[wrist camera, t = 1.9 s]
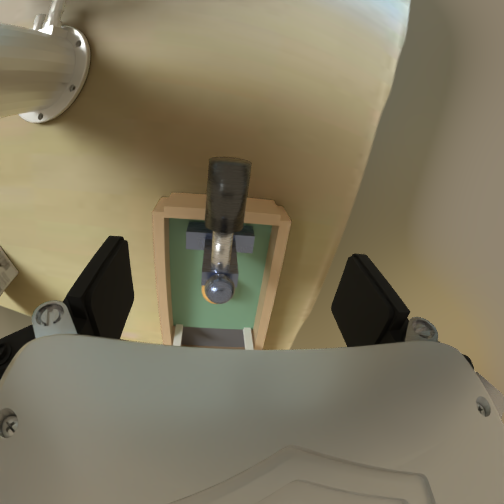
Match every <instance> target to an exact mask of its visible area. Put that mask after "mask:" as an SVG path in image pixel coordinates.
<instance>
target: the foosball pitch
mask: <svg viewBox="0 0 504 504" xmlns="http://www.w3.org/2000/svg"><path fill="white" fill-rule="evenodd" d="M205 208H206V194H191V193H173V192H172V193H171V195H170V196H169V197H161V199H160V200H159V202H158V203H157V205H156V206H155V208H154V210H153V211H152V220H153V246H154V263H155V277H156V289H157V299H158V308H159V317H160V325H161V333H162V340H163V345H174V346H186V347H200V348H216V349H242V350H263V346H264V341H265V337H266V333H267V329H268V325H269V321H270V317H271V313H272V308H273V304H274V300H275V295H276V291H277V287H278V282H279V278H280V273H281V269H282V264H283V260H284V255H285V250H286V246H287V241H288V236H289V232H290V227H291V222H292V221H291V220H290V218H289V216H288V214H287V213H286V211H285V209H284V207H283V206H277V205H276V204H275V202H274V200H267V199H256V198H247V201H246V209H245V217H244V225H247V226H253V230H254V235H255V239H254V246H253V253H239V252H237V262H238V272H239V276H238V284H237V288H235V293H234V295H233V297H232V299H231V300H230V301H228V302H227V303H224V304H212V303H209V302H208V301H207V300H205V298H204V297H203V295H202V291H201V288H202V286H201V278H202V264H203V255H204V250H192V249H186V231H187V227H188V223H189V221H190V222H205Z"/></svg>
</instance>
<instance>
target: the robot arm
mask: <svg viewBox="0 0 504 504" xmlns="http://www.w3.org/2000/svg"><path fill="white" fill-rule="evenodd" d="M65 4H66V0H54V1H52V3H51V6H50V9H49V13H48V19H47V22H46V23H44V20H45V16H46V15H45V14H39V15H37V16H36V17H35V21H34V26H33V29H29V28H25V27H20V26H15V25H10V24H4V23H0V118H3V117H7V116H12V115H17V114H18V115H19V116H20V117H21V118H22V119H24V120H25V121H27V122H31V123H42V122H47V121H49V120H52V119H54V118H56V117H57V116H59V115H61V114H62V113H63V112H64V111H65V110H66V109H68V107H69V106H70V105H71V104H72V103H73V102H74V100H75V99H76V97H77V96H78V94H79V93H80V91H81V89H82V87H83V85H84V83H85V80H86V77H87V74H88V70H89V66H90V46H89V44H88V41H87V38H86V37H85V36H84V34H83V33H82V32H81V31H79V30H78V29H76V28H73V27H70V26H66V25H65V26H62V21H60V19H61V15H62V13H63V11H64V7H65ZM43 23H44V24H43ZM42 25H43V27H42ZM75 87H76V88H75ZM133 301H134V290H133V283H132V275H131V267H130V259H129V249H128V242H127V240H124V238H123V237H121V236H109V237H108V238H107V239H106V241H105V242H104V243H103V245H102V246H101V247H100V248H99V250H98V251H97V252H96V254H95V255H94V256H93V258H92V259H91V261H90V262H89V263H88V265H87V266H86V267H85V269H84V270H83V272H82V273H81V275H80V276H79V277H78V279H77V280H76V282H75V283H74V285H73V286H72V288H71V289H70V291H69V292H68V294H67V295H66V298H65V299H64V301H63V302H61V301H57V300H56V301H48V302H45V303H43V304H41V305H40V306H38V307H37V308H36V309H35V311H34V312H33V315H32V323H33V324H32V325H30V326H28V327H26V328H23V329H21V330H19V331H17V332H15V333H13V334H10V335H8V336H6V337H4V338H1V339H0V504H504V424H503V422H502V420H501V417H502V414H503V411H504V397H503V395H502V394H501V393H500V391H498V390H497V389H496V388H495V387H494V386H493V385H491V384H490V383H489V382H488V381H487V380H486V379H485V378H483V377H482V376H481V375H480V374H479V373H478V372H475V371H474V367H473V364H472V362H471V360H470V358H469V357H468V356H466V355H463V354H461V353H460V352H459V351H458V350H457V349H456V348H454V347H452V346H450V345H447V344H444V343H440V342H438V332H437V330H436V328H435V327H434V325H433V324H432V323H430V322H429V321H427V320H426V319H424V318H421V317H413V318H411V319H410V320H408V318H407V317H408V315H409V313H410V311H409V309H408V308H407V307H406V305H405V304H404V303H403V301H402V300H401V299H400V297H399V296H398V295H397V293H396V292H395V291H394V289H393V288H392V287H391V285H390V284H389V283H388V281H387V280H386V279H385V278H384V276H383V275H382V274H381V273H380V271H379V270H378V269H377V267H376V266H375V265H374V264H373V263H372V261H371V260H370V259H369V258H368V256H367V255H364V254H353V255H352V256H351V257H349V258H348V260H347V263H346V266H345V269H344V273H343V275H342V278H341V281H340V284H339V286H338V289H337V292H336V294H335V297H334V300H333V303H332V307H331V310H332V313H333V315H334V318H335V320H336V322H337V324H338V327H339V329H340V331H341V333H342V335H343V338H344V340H345V342H346V345H347V347H341V348H325V349H300V350H242V349H216V348H200V347H186V346H174V345H163V344H153V343H145V342H137V341H129V340H122V339H120V337H121V334H122V331H123V328H124V326H125V323H126V320H127V317H128V315H129V312H130V309H131V307H132V304H133Z"/></svg>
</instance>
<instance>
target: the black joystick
mask: <svg viewBox="0 0 504 504" xmlns="http://www.w3.org/2000/svg"><path fill="white" fill-rule="evenodd" d="M251 164H252V163H251V162H249V161H247V160H243V159H238V158H231V157H214V158H210V159H209V170H208V181H207V194H206V208H205V222H190V221H189V223H188V227H187V231H186V249H192V250H204V255H203V264H202V278H201V286H205V288H204V289H205V294H206V296H207V298H208V299H209V300H210V301H211V302H213V303H216V304H224V303H227V302H228V301H230V300H231V299H232V297H233V295H234V293H235V288H237V284H238V276H239V272H238V262H237V252H239V253H253V246H254V239H255V235H254V230H253V226H247V225H244V217H245V209H246V201H247V194H248V186H249V179H250V171H251Z"/></svg>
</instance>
